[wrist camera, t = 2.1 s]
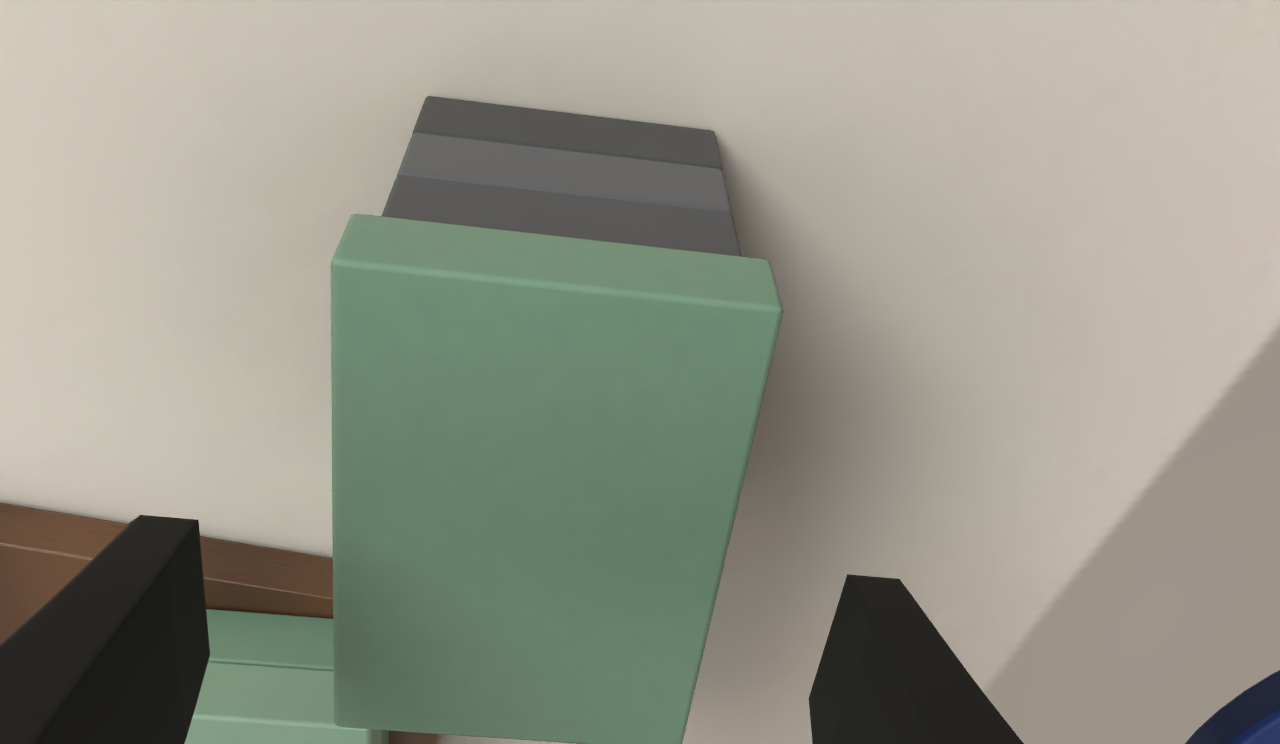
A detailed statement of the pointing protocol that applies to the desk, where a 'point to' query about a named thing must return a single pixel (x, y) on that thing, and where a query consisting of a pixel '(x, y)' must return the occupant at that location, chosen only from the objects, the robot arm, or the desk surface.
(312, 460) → the desk surface
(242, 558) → the book ledge
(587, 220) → the grey books
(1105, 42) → the desk surface
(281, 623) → the green flat block
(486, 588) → the sage book
